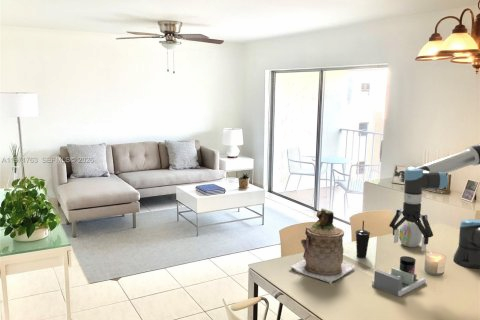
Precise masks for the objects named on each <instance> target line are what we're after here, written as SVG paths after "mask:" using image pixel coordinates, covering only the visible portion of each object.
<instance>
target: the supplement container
mask: <svg viewBox="0 0 480 320" xmlns="http://www.w3.org/2000/svg"><path fill="white" fill-rule="evenodd" d="M398 269H399V270H401V271H404V272H407V273H410V274H413V275H414V273H415V274H416V272H415V271H416V258H414V257H412V256H409V255H408V256H406V255H405V256H404V255H403V256H401V257H399V268H398ZM413 281H414V277H413Z"/></svg>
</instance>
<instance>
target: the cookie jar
mask: <svg viewBox="0 0 480 320" xmlns="http://www.w3.org/2000/svg"><path fill="white" fill-rule="evenodd" d="M334 215H335V214H334V212H333V211H331V210H328V209H326V208H321V209H320V210H318V211H317V212H316V215H315V216H316V217H317V218H318V220H317V221H316V222H315V223H313V224H312V225H310V226H307V227H306V228H305V235H306V238H305V239H301V240H300V243H301V246H302V247H303V249H304V253H303V256H302V257H303V259H302V260H300V261H298V262H296V263H294V264H291V265H289V268H290V269H293V270H294V271H295V272H297V273H299V274H303V275H306V276H309V277H311V278H314V279H318V280H321V281H324V282H327V283H329V284H331V285H332V284H333V282H335V281H337V280H338V279H341V278H342V277H344V276H345V275H347V274H348V273H350V272H353V271H354V270H355V268H356V266H355V265H352V264H349V263H344V246H343V243H344V242H343V239H344V238H343V237H344V236H345V231H344V230H343V229H341V228H339V227H337V226H334V224H333V223H334Z"/></svg>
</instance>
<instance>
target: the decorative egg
mask: <svg viewBox="0 0 480 320" xmlns="http://www.w3.org/2000/svg"><path fill="white" fill-rule="evenodd" d="M422 237H423V234H422V233H421V231H420V230H419V228H418V226H417V225H416V224H415V223H412V222H408V221H404V222H403V223H402V224H401V227H400V228H399V238H398V239H399V241H400V243H401V244H402V245H403V246H404V247H407V248H416V247H418V246H419V245H420V244H421V243H422Z"/></svg>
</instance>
